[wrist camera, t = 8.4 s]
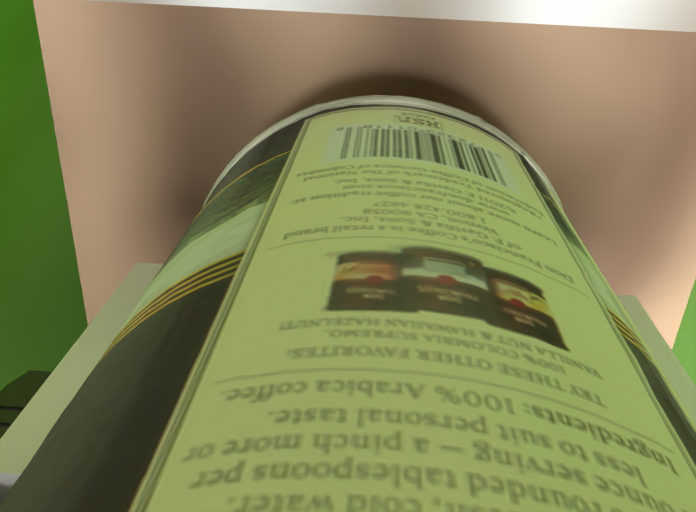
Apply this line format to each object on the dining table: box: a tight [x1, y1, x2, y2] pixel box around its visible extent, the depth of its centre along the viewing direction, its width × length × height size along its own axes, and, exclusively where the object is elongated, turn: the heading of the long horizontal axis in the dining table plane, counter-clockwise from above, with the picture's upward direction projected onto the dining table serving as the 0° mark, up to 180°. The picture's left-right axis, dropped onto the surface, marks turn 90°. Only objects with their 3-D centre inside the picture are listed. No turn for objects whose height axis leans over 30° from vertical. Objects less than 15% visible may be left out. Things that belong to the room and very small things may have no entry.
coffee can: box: [0, 95, 696, 512], centre depth 11 cm, size 10×10×14 cm
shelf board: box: [33, 0, 696, 350], centre depth 19 cm, size 20×14×5 cm
